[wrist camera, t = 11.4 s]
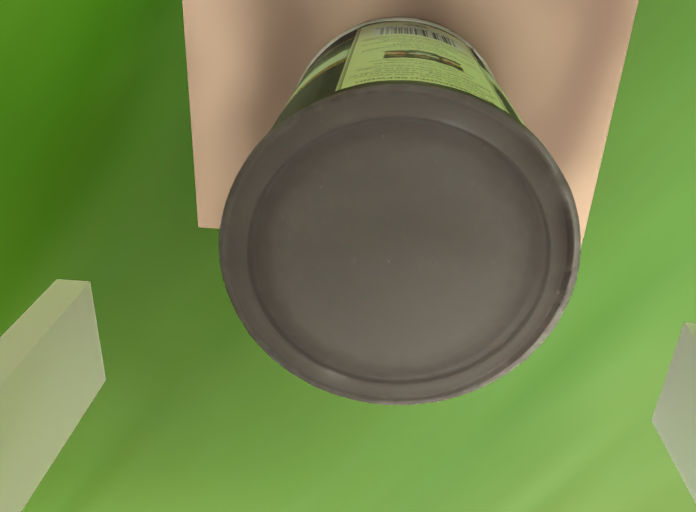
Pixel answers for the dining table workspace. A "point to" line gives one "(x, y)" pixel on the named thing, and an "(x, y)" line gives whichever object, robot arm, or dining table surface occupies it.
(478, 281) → the coffee can
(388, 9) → the shelf board
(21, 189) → the dining table surface
